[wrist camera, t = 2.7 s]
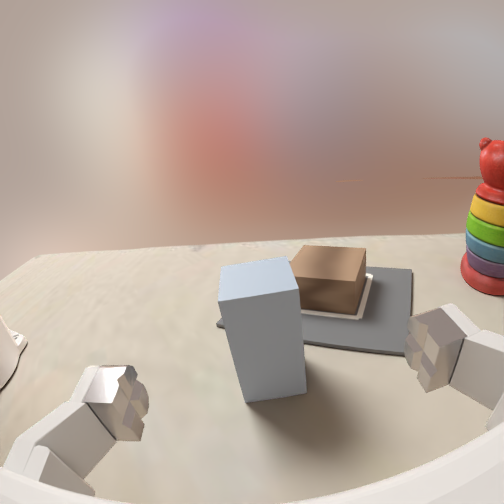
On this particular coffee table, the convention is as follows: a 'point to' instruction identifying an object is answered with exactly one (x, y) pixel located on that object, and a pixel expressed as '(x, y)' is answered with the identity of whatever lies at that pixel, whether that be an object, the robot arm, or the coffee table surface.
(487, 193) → the stacking bear
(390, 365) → the coffee table surface
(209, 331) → the coffee table surface
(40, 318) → the coffee table surface
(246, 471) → the coffee table surface
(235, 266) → the pillar
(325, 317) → the build mat
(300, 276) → the base block
